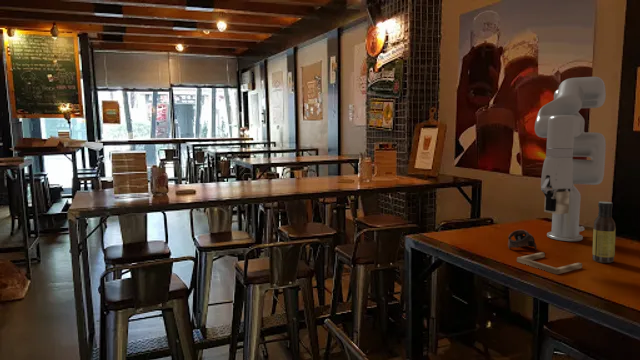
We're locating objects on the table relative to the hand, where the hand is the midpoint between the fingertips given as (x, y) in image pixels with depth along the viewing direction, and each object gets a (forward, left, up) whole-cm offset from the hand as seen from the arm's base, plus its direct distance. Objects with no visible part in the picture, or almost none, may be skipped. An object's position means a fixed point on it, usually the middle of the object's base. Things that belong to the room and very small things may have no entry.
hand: (556, 209), depth 143 cm
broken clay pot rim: (-6, -17, -19) cm, 26 cm away
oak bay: (+2, 0, -18) cm, 18 cm away
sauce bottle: (-17, +6, -18) cm, 26 cm away
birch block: (0, 0, -1) cm, 1 cm away
